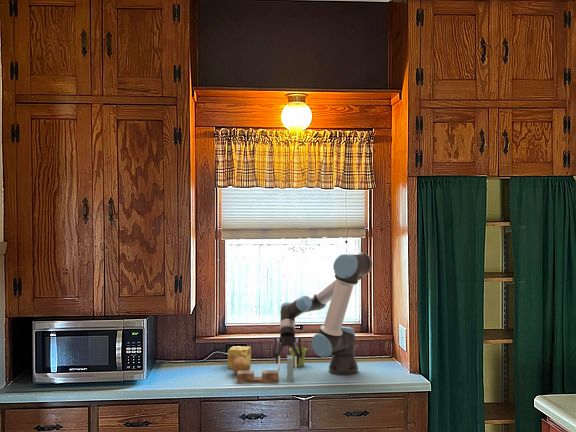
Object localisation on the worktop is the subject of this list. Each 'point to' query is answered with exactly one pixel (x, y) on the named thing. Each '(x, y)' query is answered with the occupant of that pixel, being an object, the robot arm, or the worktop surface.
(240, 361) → the potato
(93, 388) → the worktop surface
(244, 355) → the cheese
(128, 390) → the worktop surface
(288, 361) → the grey upright block
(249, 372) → the brown wooden u-shaped block
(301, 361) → the plant pot
